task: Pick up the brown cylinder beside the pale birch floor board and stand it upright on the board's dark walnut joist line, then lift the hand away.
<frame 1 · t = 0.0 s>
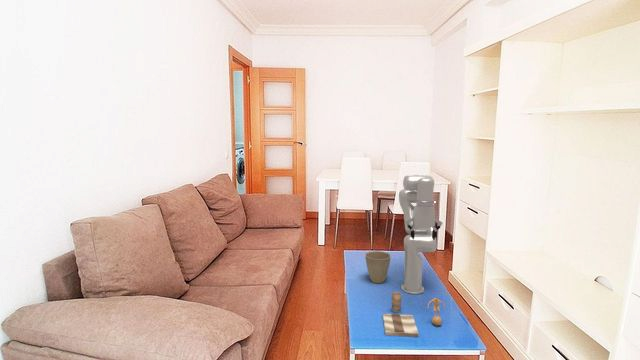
hand: (423, 238, 174), 37 cm above the table, tool pointing down, fingers open, 9 cm apart
plant pot: (377, 281, 214), on the table
floor board: (399, 326, 164), on the table
brown cylinder: (396, 311, 177), on the table
figurine: (435, 324, 166), on the table
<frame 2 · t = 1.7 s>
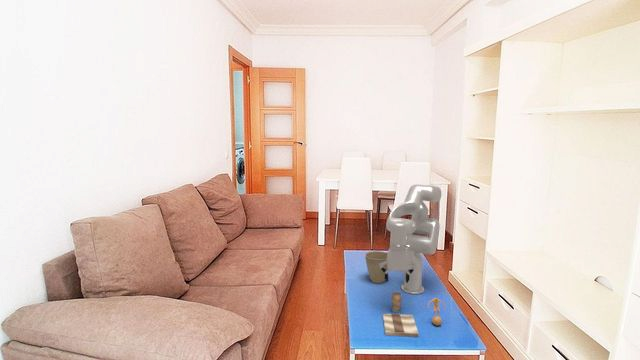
hand: (396, 281, 175), 16 cm above the table, tool pointing down, fingers open, 9 cm apart
nothing on the table moved.
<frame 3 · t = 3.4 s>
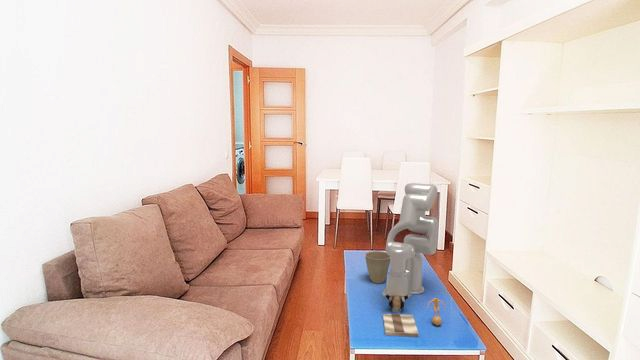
hand: (396, 307, 177), 2 cm above the table, tool pointing down, fingers closed on brown cylinder, 4 cm apart
brown cylinder: (396, 311, 177), on the table, touching gripper
everything else where it was.
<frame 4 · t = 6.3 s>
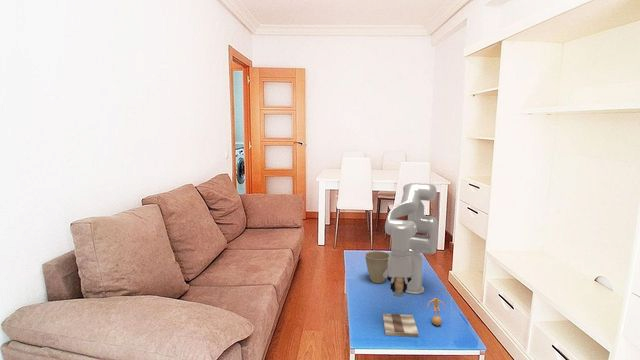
hand: (398, 290, 161), 17 cm above the table, tool pointing down, fingers closed on brown cylinder, 4 cm apart
brown cylinder: (398, 294, 162), point 15 cm above the table, touching gripper
everything else where it was.
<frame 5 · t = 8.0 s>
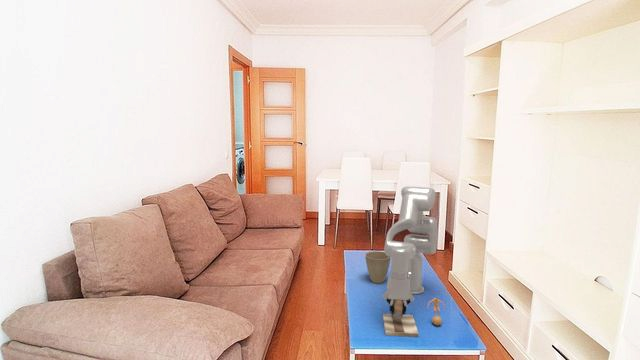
hand: (397, 312, 163), 7 cm above the table, tool pointing down, fingers closed on brown cylinder, 4 cm apart
brown cylinder: (397, 316, 163), point 5 cm above the table, touching gripper
everything else where it was.
when the fingers open (4 cm above the table, at t = 9.3 s): brown cylinder stays where it is, resting on floor board.
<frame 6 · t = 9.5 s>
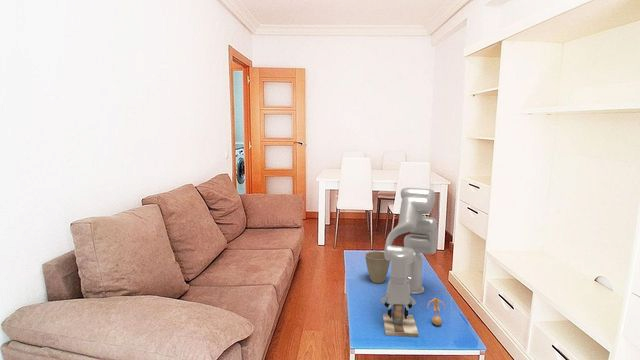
hand: (397, 316, 163), 5 cm above the table, tool pointing down, fingers open, 6 cm apart
brown cylinder: (397, 322, 164), point 2 cm above the table, touching floor board
everything else where it was.
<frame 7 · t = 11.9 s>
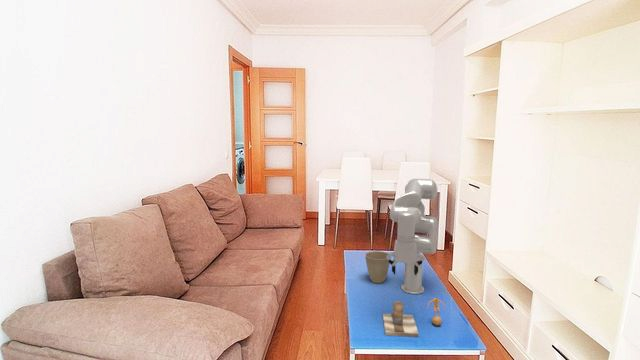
hand: (404, 273, 166), 23 cm above the table, tool pointing down, fingers open, 9 cm apart
nothing on the table moved.
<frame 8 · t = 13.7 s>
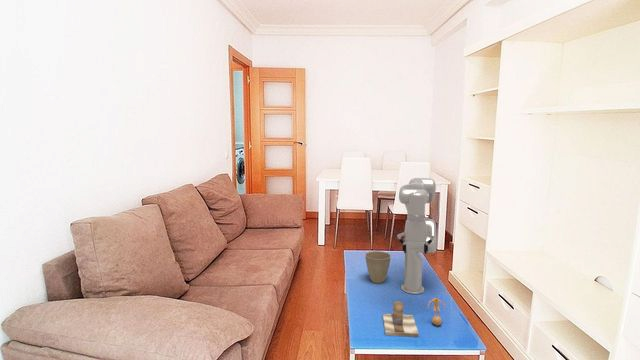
hand: (414, 252, 173), 30 cm above the table, tool pointing down, fingers open, 9 cm apart
nothing on the table moved.
at the end: brown cylinder 0.1 cm from the target spot, point 1.8 cm above the table; brown cylinder tilted 0°; the gripper is holding nothing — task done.
